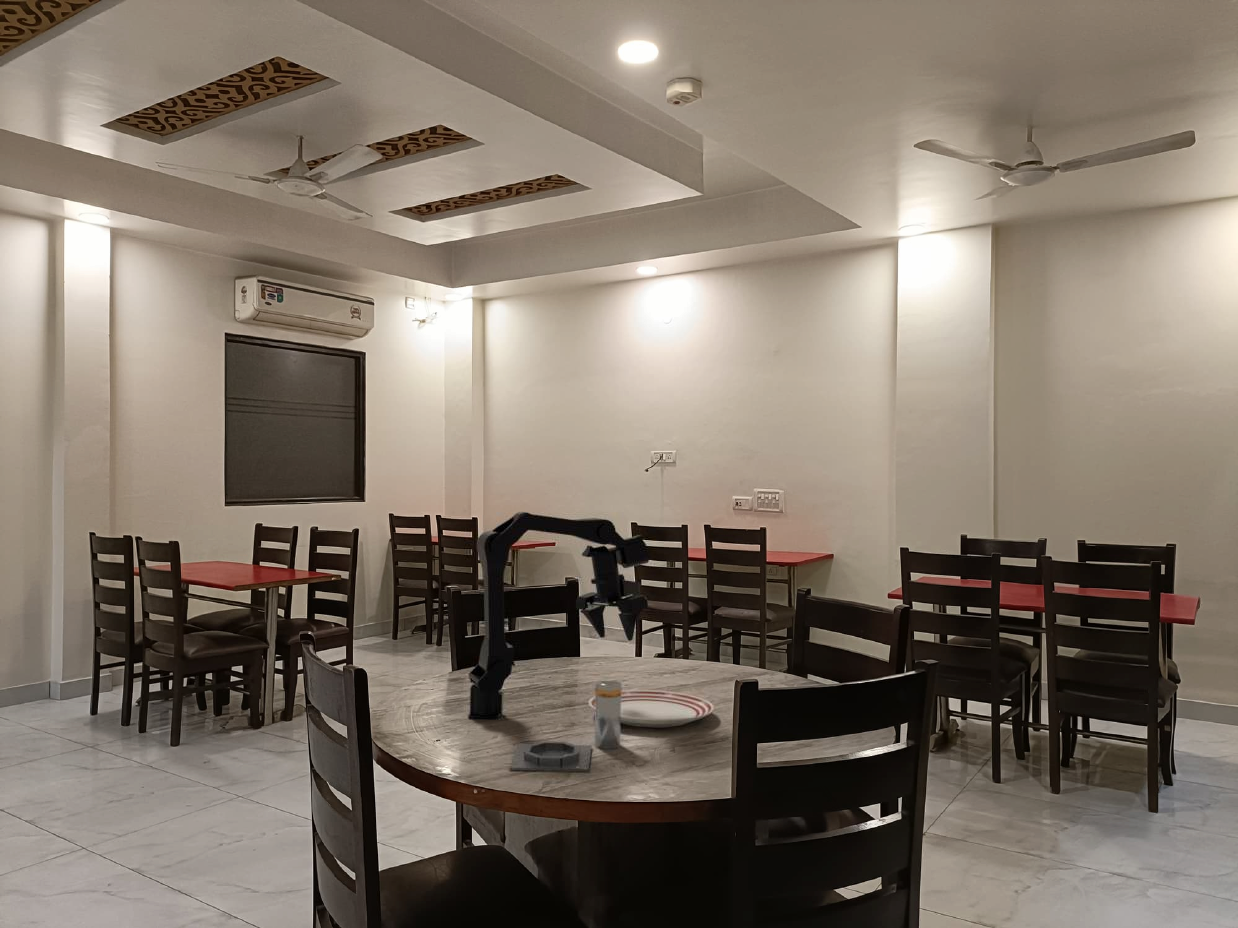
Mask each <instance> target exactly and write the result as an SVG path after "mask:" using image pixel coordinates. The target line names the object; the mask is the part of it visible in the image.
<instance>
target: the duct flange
mask: <svg viewBox="0 0 1238 928" xmlns="http://www.w3.org/2000/svg"><path fill="white" fill-rule="evenodd" d="M592 747H593V746H592V745H591V744H589V745H587V744H585V745H583V744H582V745H581V744H573V743H571V742H567V741H553V740H552V741H547V740H546V741H545V740H544V741H540V742H535V743H519V744H518V746H517V748H516V749H515V753H514V756H513V758H512V761H511V762H510V765H509V767H508V769H509V770H508V771H521V772H523V771H527V772H529V771H531V772H532V771H533V772H534V771H535V772H568V773H569V772H571V773H572V772H573V773H574V772H575V773H578V772H579V773H588V772H589V769H590V762H591V755H592Z"/></svg>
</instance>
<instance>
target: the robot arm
mask: <svg viewBox="0 0 1238 928" xmlns="http://www.w3.org/2000/svg"><path fill="white" fill-rule="evenodd" d="M528 531H533V532H541V533H549V534H558V535H565V536H571V537H575V538H578V539H581V540H584V541H586V542H590V543H593V544H598V545H600V546H596V547H593V546H592V545H589V544H588V545H586V548H585V549H584V550H583V552H582V553H581V556H582V557H585V558H590V559H591V562H592V570H593V571H592V572H593V576H594V578H591V579H590V582H591V583H590V584H591V585H592V584H593V585H595V591H596V592H594V591H593V592H592V591H591V592H588V593H585V594H582V595H578V596H577V598H576V599H575V609H576V610H580V613H581V614H583V615H584V616H585V618H586V619H587V620H588V621H589V623H590V624H591V625H592V627H593V628H594V630H595V632H596V633H597V634H598V636H599V637H600V638H601V639H604V638H605V637H606V632H605V631H606V630H605V629H606V628H605V621H604V612H605V608H606V607H616V608H617V609H618V611H619V612H620V613H618V617H619V621H620V623H621V625H622V629H623V631H624V634H625V637H626V639H627V641H628V642H631V641H633V640H634V634H635V629H636V624H637V619H638V617H639V615H640V614H641V613H642V612H644V611H645V609H647V608H648V607H649V603H648V598H647V596H645V595H641V594H640V587H641V582H639V581H634V580H633V581H631V580H625V576H624V574H623V573H619V566H621V567H622V568H623V569H627V568H634V567H637V566H641V565H646V564H648V563H649V562H650V550H649V549H648V546H647V544H646V542H645V541H644V539H643V535H641V534H640V535H639V534H638V535H633V536H630V537H628V538H623V537H622V536H621V535H620V534H619V532H617V530H616V527H615V524H614V523H613V521H611V520H610V519H606V518H605V519H604V518H598V517H594V518H593V517H592V518H579V519H570V518H562V517H553V516H550V515H549V516H546V515H540V514H533V513H530V512H526V511H518V512H516V513H515V514H514V515H512V516H511V517H510V518H509V519H507V520H506V521H503V522H502V523H500V524H499V525H498V526H496V527H495V528H493V529H492V530H487V531H485V532H482V533H481V534H479V535H480V536H478V538H477V539H476V550H477V555H478V560H479V562H480V563H479V564H480V565H481V569H482V572H483V591H484V592H483V601H484V602H483V604H484V606H483V607H484V608H483V609H484V610H483V611H484V614H483V615H484V638H483V641H482V643H481V647H480V653H479V659H478V663H477V664H476V666H475V667H474V668H473V669H472V670H471V671H470V672H469V673H468V678H469V682H470V683H471V684H472V685H471V686H470V689H469V690H470V693H469V695H470V696H469V700H470V701H469V713H468V716H467V718H468V719H499V717H500V716H501V715H502V714H503V712H504V696H505V695H504V692H503V691H502V688H503V686H504V684H505V681H506V680H507V678H509V676H510V675H511V674H512V670H513V667H515V666H516V665H515V662H514V653H515V647H514V646H513V645H511V644H509V643H508V642H507V641H506V634H505V633H506V631H505V630H506V629H505V627H506V625H505V583H504V581H505V580H504V579H505V578H504V575H505V570H506V567H507V564H508V561H509V554H510V549H511V547H512V546H513V545H515V544H516V543H518V541H519V540H520V539H521V538H522V536H523V535H525V533H527V532H528ZM606 545H608V546H613V547H610V548H609V547H607V546H606Z"/></svg>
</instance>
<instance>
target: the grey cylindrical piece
mask: <svg viewBox="0 0 1238 928" xmlns="http://www.w3.org/2000/svg"><path fill="white" fill-rule="evenodd" d="M622 689H623V688H622V683H621V682H620V681H614V680H600V681H596V682H595V687H594V696H595V710H594V747H595V748H597V749H600V750H615V749H619V748H620V747H621V729H622V728H621V724H622V723H621V695H622V691H623V690H622Z"/></svg>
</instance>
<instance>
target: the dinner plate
mask: <svg viewBox="0 0 1238 928" xmlns="http://www.w3.org/2000/svg"><path fill="white" fill-rule="evenodd" d="M588 705H589V706H590V707H589V708H590V709H592V710H593V711H595V695H594V696H593V697H591V698H590V699H589V701H588ZM714 710H715V707H714V705H713V704H712V703H711V702H710V701H708V700H706V699H704V698H701V697H698V696H694V695H691V694H685V693H680V692H675V691H673V692H672V691H663V690H651V689H650V690H649V689H629V690H628V689H626V690H622V695H621V724H622V725H627V726H630V727H631V726H632V727H642V728H655V729H656V728H670V727H671V728H673V727H680V726H683V725H686V724H689V723H691V722H695V721H697V720H700V719H702V718H704V717H706V716H708V715H710V714H712V712H714Z"/></svg>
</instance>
